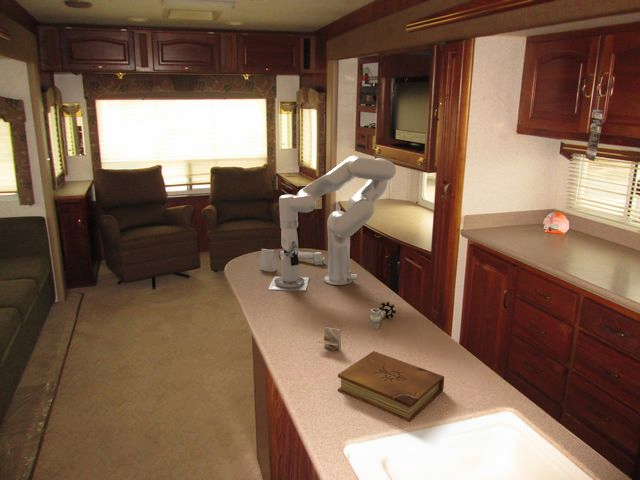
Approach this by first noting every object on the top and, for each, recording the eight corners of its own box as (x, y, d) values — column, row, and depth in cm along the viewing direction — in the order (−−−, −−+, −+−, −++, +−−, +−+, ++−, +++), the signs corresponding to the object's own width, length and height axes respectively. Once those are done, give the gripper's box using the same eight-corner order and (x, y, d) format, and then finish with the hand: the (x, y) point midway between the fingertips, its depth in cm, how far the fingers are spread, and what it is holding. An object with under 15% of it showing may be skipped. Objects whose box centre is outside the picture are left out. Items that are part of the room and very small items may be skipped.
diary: (443, 393, 146) (444, 374, 144) (409, 424, 132) (411, 404, 130) (374, 366, 159) (375, 349, 158) (337, 391, 146) (337, 373, 144)
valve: (380, 331, 182) (395, 320, 192) (381, 314, 181) (396, 303, 190) (364, 327, 186) (379, 315, 195) (364, 310, 184) (380, 299, 194)
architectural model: (337, 355, 166) (338, 334, 164) (317, 351, 169) (317, 330, 167) (341, 350, 169) (341, 329, 167) (321, 347, 172) (321, 326, 170)
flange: (309, 278, 235) (309, 274, 235) (305, 290, 220) (305, 287, 219) (274, 277, 236) (274, 273, 236) (268, 289, 221) (268, 286, 221)
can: (286, 276, 232) (286, 250, 229) (301, 279, 229) (301, 253, 226) (278, 281, 226) (277, 255, 223) (293, 284, 223) (293, 257, 220)
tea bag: (272, 272, 244) (272, 251, 241) (260, 270, 246) (259, 249, 244) (276, 269, 247) (276, 249, 244) (264, 267, 250) (263, 247, 247)
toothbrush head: (282, 249, 267) (325, 249, 255) (284, 261, 268) (327, 262, 256) (277, 251, 262) (320, 252, 250) (278, 264, 264) (322, 265, 252)
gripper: (275, 220, 228) (277, 257, 232) (286, 229, 212) (289, 269, 217) (291, 218, 230) (293, 255, 235) (304, 227, 214) (306, 266, 219)
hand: (291, 262), depth 226 cm, fingers open, 9 cm apart
